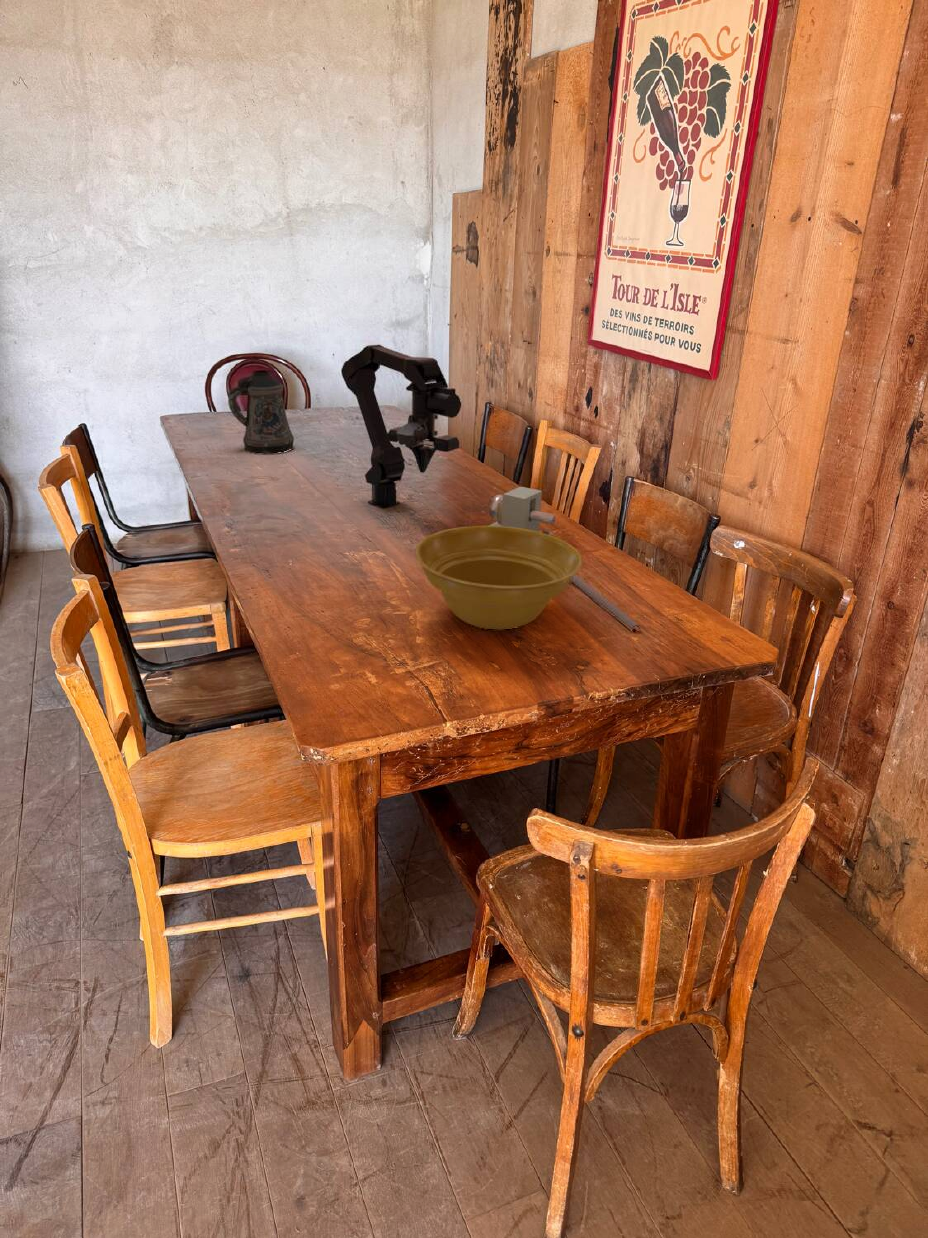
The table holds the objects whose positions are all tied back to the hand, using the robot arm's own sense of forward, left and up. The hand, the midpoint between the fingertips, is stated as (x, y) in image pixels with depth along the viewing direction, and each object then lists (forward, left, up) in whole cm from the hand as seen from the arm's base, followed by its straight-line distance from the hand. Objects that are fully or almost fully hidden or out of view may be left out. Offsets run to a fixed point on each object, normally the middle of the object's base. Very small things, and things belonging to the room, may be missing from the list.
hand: (422, 472), depth 216 cm
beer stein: (-85, +10, -12) cm, 86 cm away
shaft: (+28, +8, -9) cm, 30 cm away
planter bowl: (+54, -32, -12) cm, 64 cm away
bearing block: (+27, +7, -12) cm, 31 cm away
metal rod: (+65, -11, -13) cm, 67 cm away
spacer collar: (+23, +7, -9) cm, 26 cm away
